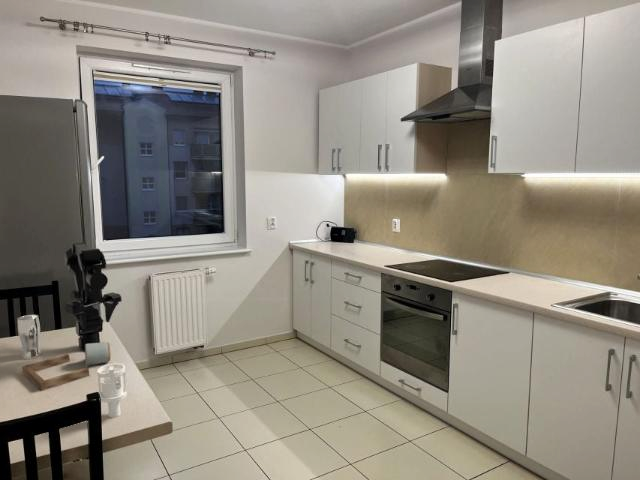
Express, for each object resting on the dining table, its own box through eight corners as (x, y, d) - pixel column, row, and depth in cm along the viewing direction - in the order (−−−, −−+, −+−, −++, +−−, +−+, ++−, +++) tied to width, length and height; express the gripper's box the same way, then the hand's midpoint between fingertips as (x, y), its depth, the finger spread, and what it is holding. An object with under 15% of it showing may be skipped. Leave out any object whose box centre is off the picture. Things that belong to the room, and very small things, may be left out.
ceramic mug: (112, 364, 167) (110, 343, 166) (86, 369, 163) (84, 348, 162) (108, 354, 176) (107, 335, 175) (84, 359, 172) (82, 339, 171)
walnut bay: (68, 360, 171) (67, 353, 170) (89, 375, 158) (88, 368, 158) (22, 373, 160) (22, 366, 160) (41, 390, 147) (41, 383, 147)
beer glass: (20, 361, 170) (15, 321, 168) (21, 354, 176) (17, 316, 174) (42, 357, 173) (38, 318, 171) (43, 351, 179) (39, 313, 177)
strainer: (101, 423, 128) (97, 371, 126) (100, 411, 135) (96, 362, 132) (128, 417, 131) (125, 367, 129) (127, 406, 137) (123, 357, 135)
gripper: (103, 276, 180) (106, 315, 183) (54, 286, 165) (58, 328, 167) (121, 279, 174) (123, 319, 177) (71, 290, 159) (75, 334, 161)
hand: (95, 325), depth 171 cm, fingers open, 9 cm apart
